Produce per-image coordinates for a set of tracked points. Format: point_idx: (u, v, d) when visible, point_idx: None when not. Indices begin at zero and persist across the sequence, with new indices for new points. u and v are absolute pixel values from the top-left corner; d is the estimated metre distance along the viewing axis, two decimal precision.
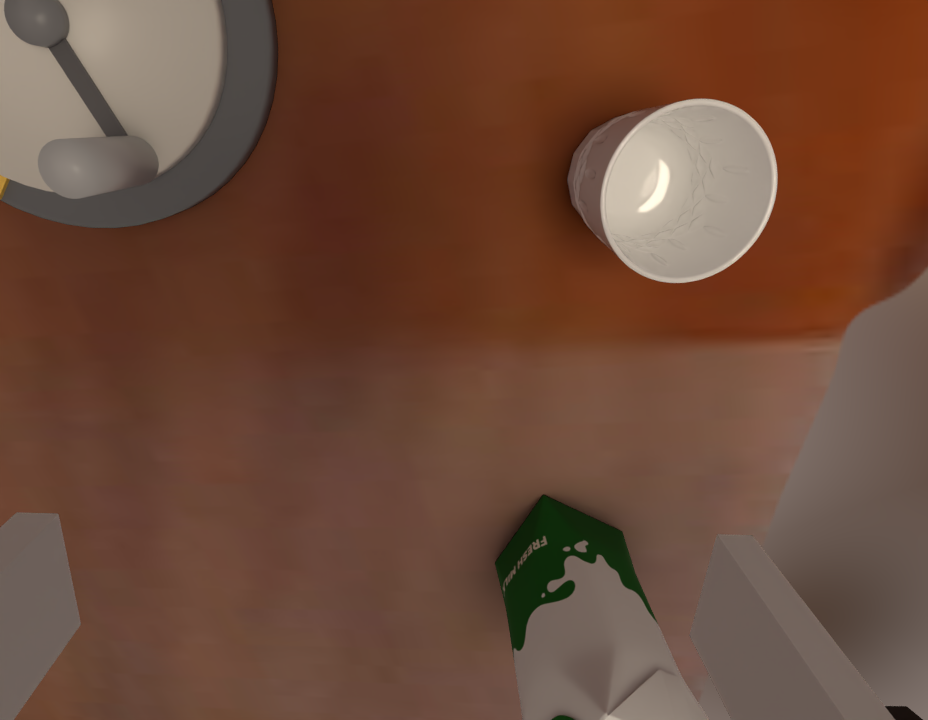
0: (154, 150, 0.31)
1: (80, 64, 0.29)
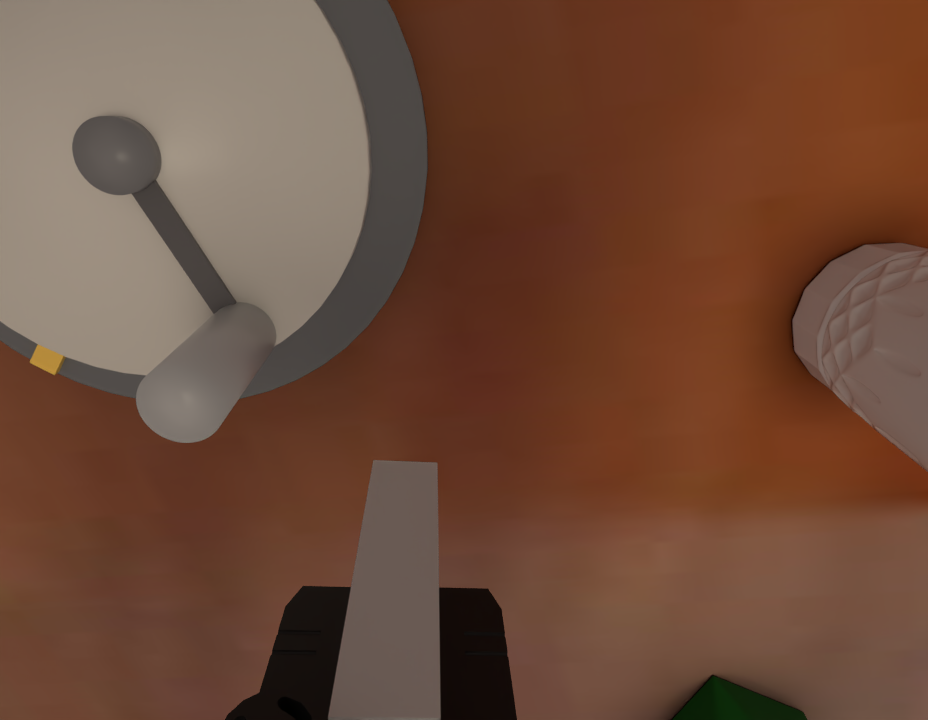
0: (271, 320, 0.22)
1: (175, 214, 0.21)
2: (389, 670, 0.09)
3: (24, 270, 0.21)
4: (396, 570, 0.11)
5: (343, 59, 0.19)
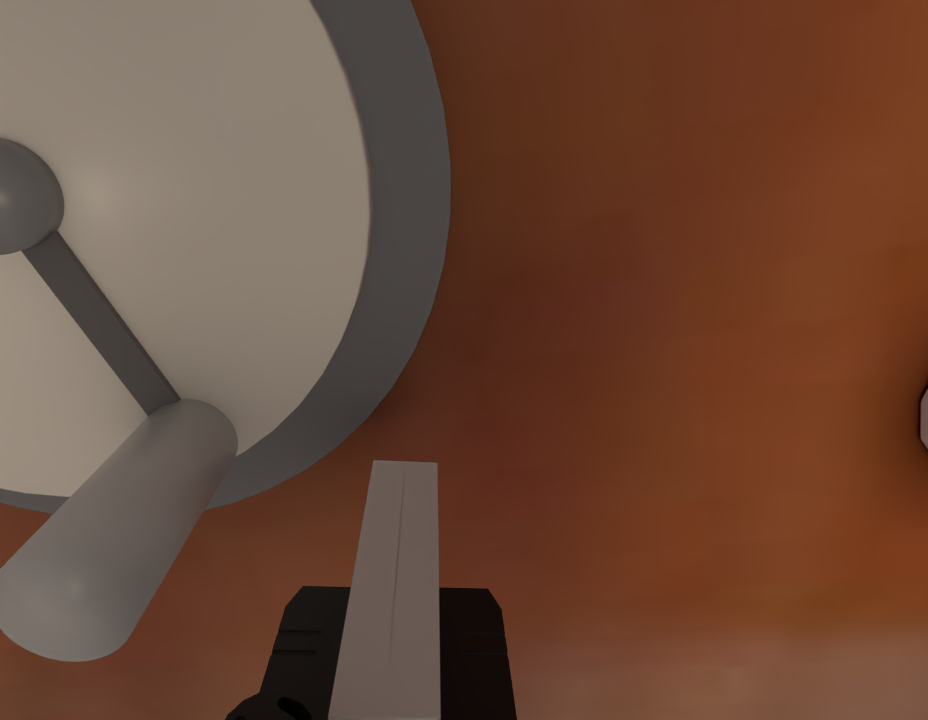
0: (231, 422, 0.16)
1: (87, 279, 0.14)
2: (389, 670, 0.09)
3: None
4: (397, 570, 0.11)
5: (332, 55, 0.13)
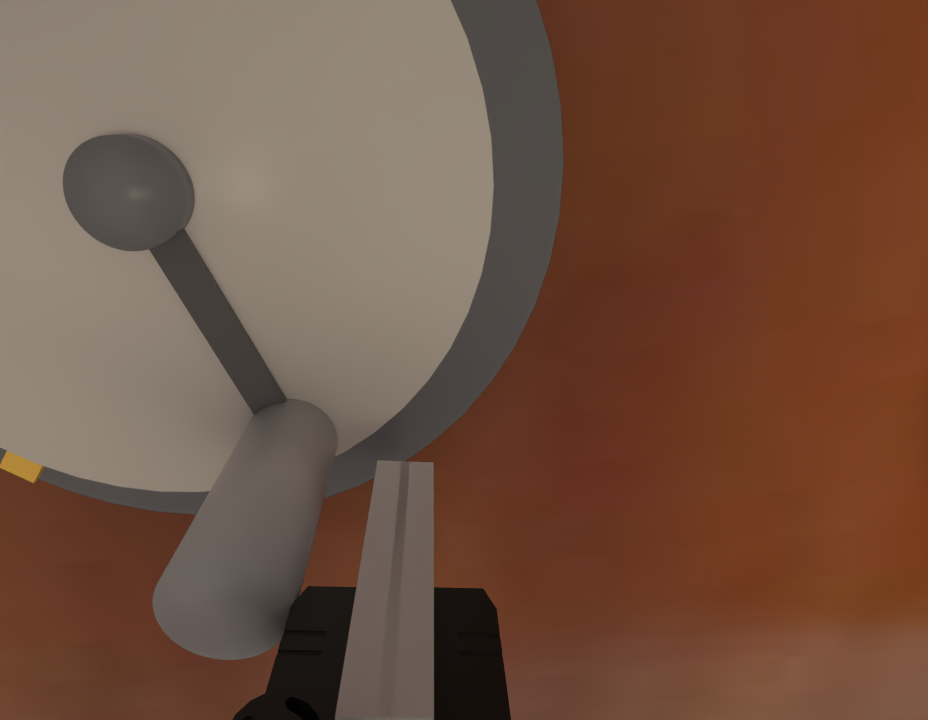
0: (333, 424, 0.16)
1: (210, 278, 0.14)
2: (396, 670, 0.09)
3: None
4: (402, 571, 0.11)
5: (475, 70, 0.13)
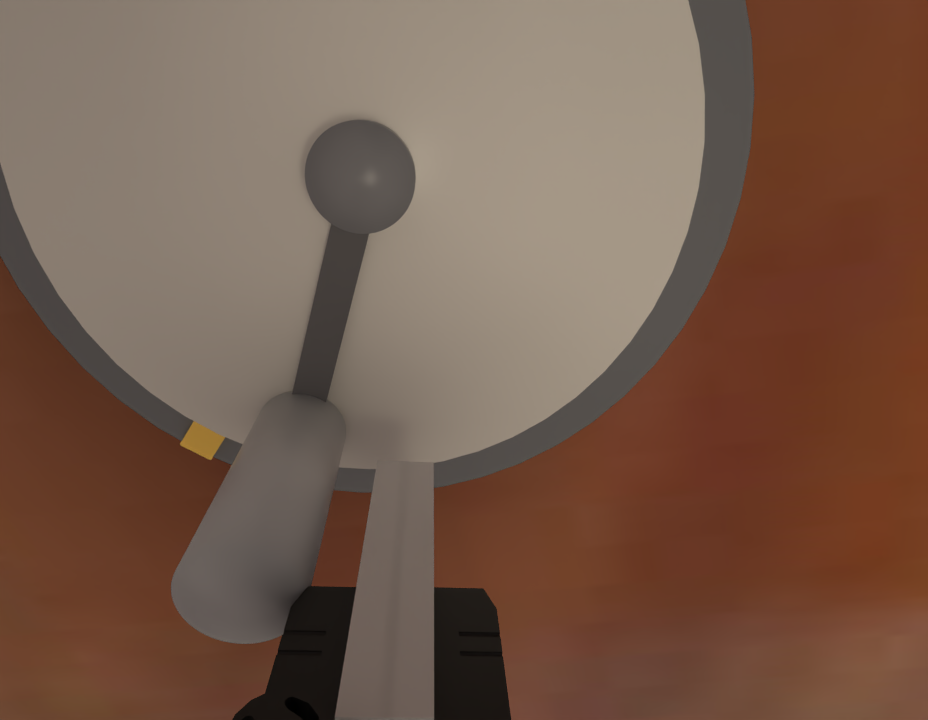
0: (344, 441, 0.17)
1: (357, 276, 0.15)
2: (395, 670, 0.09)
3: (107, 172, 0.14)
4: (402, 571, 0.11)
5: (658, 294, 0.16)
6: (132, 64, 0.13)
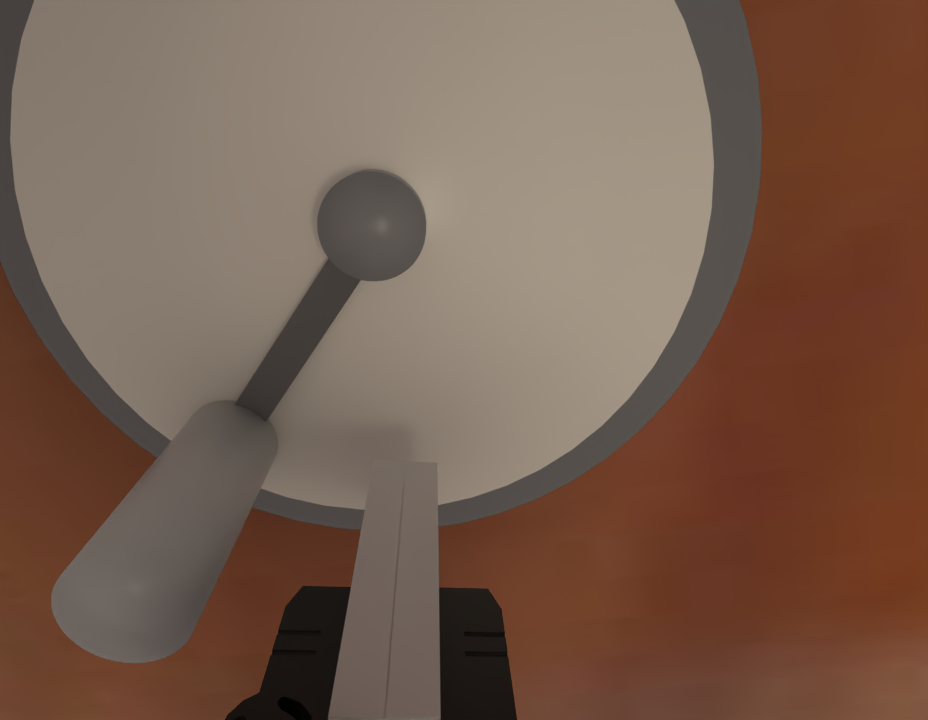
0: (271, 464, 0.16)
1: (337, 313, 0.15)
2: (389, 670, 0.09)
3: (122, 137, 0.13)
4: (396, 570, 0.11)
5: (610, 414, 0.16)
6: (184, 47, 0.13)
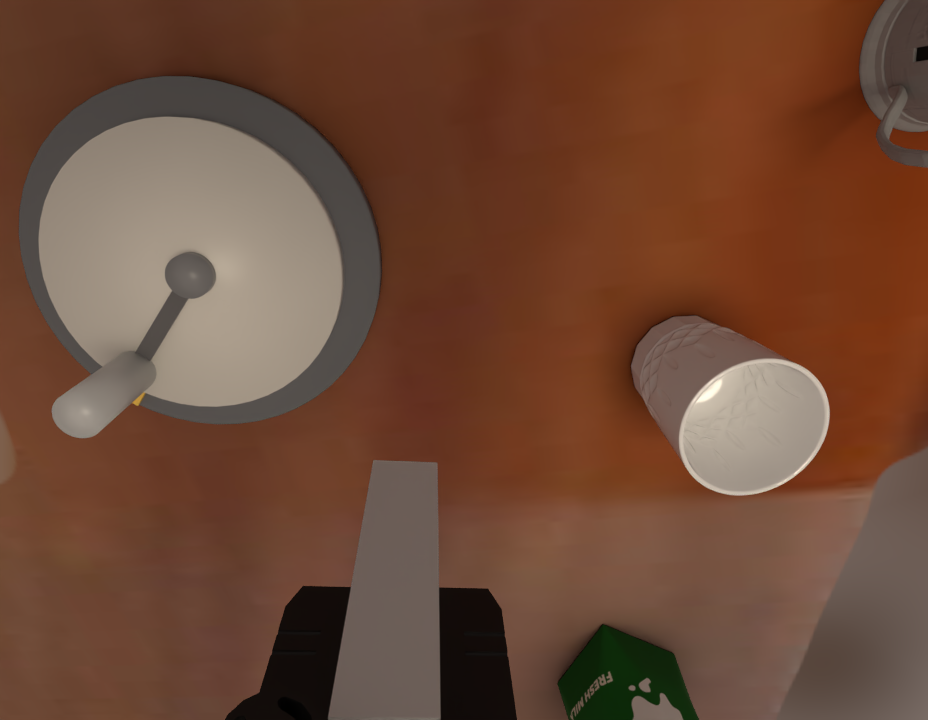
0: (153, 382, 0.35)
1: (179, 312, 0.34)
2: (389, 670, 0.09)
3: (84, 238, 0.32)
4: (396, 570, 0.11)
5: (312, 361, 0.35)
6: (109, 204, 0.32)
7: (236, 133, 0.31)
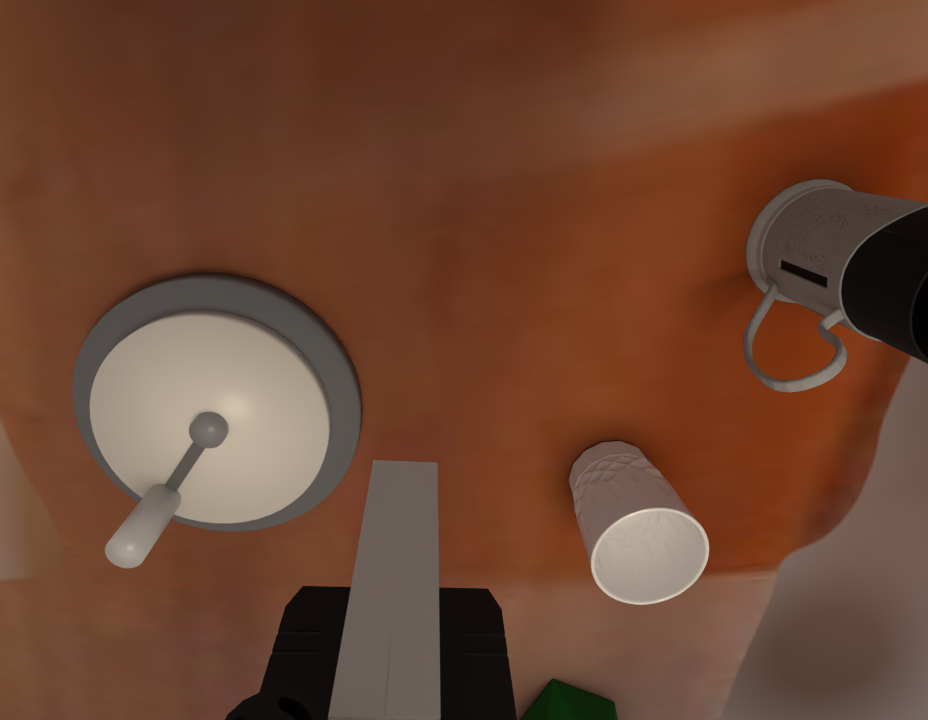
0: (179, 506, 0.44)
1: (199, 456, 0.42)
2: (389, 670, 0.09)
3: (125, 403, 0.41)
4: (397, 570, 0.11)
5: (305, 489, 0.44)
6: (145, 379, 0.40)
7: (244, 327, 0.39)
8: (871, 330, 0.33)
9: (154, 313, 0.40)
